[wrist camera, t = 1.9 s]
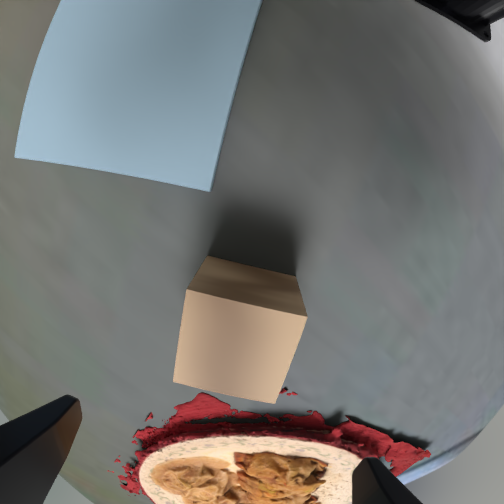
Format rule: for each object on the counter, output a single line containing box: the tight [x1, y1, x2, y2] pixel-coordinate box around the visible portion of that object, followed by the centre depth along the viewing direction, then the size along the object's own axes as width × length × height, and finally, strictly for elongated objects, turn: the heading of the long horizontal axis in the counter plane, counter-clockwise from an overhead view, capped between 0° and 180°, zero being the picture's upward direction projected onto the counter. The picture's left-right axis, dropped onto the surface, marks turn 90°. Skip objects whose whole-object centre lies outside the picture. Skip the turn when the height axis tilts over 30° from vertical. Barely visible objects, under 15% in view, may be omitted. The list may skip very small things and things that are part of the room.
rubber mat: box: [15, 0, 263, 192], centre depth 13 cm, size 14×14×1 cm
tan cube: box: [173, 256, 307, 404], centre depth 15 cm, size 5×5×5 cm
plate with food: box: [108, 388, 431, 504], centre depth 22 cm, size 25×26×4 cm
